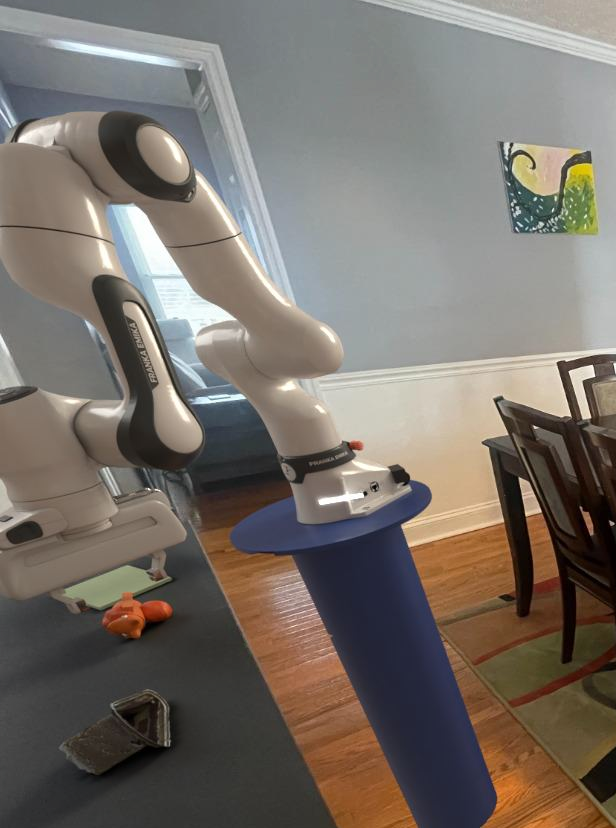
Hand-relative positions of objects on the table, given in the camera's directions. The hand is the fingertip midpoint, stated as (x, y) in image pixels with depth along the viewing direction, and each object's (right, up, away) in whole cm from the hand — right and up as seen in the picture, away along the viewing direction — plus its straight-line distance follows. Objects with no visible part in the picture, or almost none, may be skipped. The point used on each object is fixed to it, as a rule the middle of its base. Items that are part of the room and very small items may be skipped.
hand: (122, 594), depth 88 cm
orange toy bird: (0, -5, +3) cm, 6 cm away
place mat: (-16, 0, +14) cm, 22 cm away
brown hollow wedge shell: (+20, -16, -19) cm, 32 cm away
